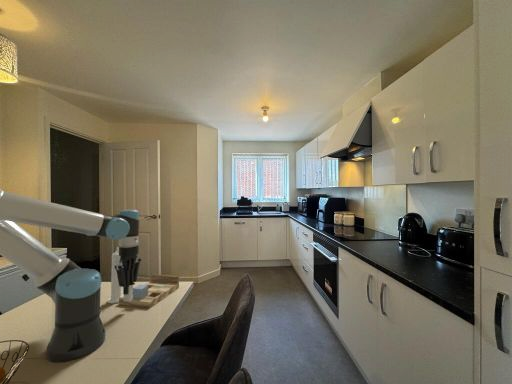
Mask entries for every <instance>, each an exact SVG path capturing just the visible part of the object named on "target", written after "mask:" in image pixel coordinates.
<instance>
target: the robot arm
mask: <svg viewBox="0 0 512 384" xmlns="http://www.w3.org/2000/svg"><path fill="white" fill-rule="evenodd" d="M139 213H140V212H139V211H138V210H137V209H122V210H121V209H120V210H119V214H116V215H105V214H102V213H98V212H94V211H89V210H84V209H80V208H77V207H74V206H73V207H72V206H68V205H65V204H60V203H55V202H50V201H46V200H42V199H38V198H34V197H29V196H26V195H25V196H24V195H21V194H16V193H12V192H7V191H4V190H3V189H2V188H1V187H0V256H1V257H3V258H4V259H5V260H7V261H8V262H9V263H11V264H12V265H14V266H16V268H18V269H20V271H23V272H24V273H25V274H27V275H28V276H30V277H31V278H32V279H33V280H34V284H33V286H34V287H35V288H37V289H38V290H39V291H40V292H42V293H43V294H44V295H47V296H48V297H49V298H51V299H52V302H53V303H54V304H55V305H54V307H55V308H54V310H55V311H54V327H53V328H54V329H53V331H52V335H51V337H50V339H49V342H48V343H47V346H46V349H45V351H46V352H45V357H46V359H47V360H48V361H50V362H54V363H55V362H56V363H57V362H60V363H61V362H68V361H72V360H76V359H79V358H82V357H84V356H87V355H89V354H90V353H93V352H94V351H96V350H97V349H98V348H100V347H101V346H102V345H103V344H104V342H105V341H106V329H105V328H104V324H103V321H102V319H101V316H100V315H101V312H100V311H101V290H102V289H101V286H102V277H101V273H100V272H99V271H98V270H96V269H94V268H91V269H90V268H87V267H86V268H81V267H80V266H78V265H77V264H76V263H75V262H74V261H73V260H71V259H70V258H67V257H64V258H61V257H59V256H57V254H55V253H54V252H53V251H51V249H50V248H48V247H46V246H45V245H44V244H43V243H42V242H41V241H40V240H38V239H36V238H35V237H34V236H33V235H31V234H30V233H29V232H28V231H27V230H25V229H24V228H23V227H22V226H20V225H19V224H24V225H30V226H36V227H42V228H48V229H55V230H59V231H65V232H72V233H78V234H84V235H86V236H88V237H91V236H92V237H93V236H94V237H101V238H107V239H110V240H117V241H118V247H119V256H120V261H119V262H120V263H119V264H118V265H116V266H115V269H116V271H117V277H118V282H119V286H120V287H122V295H123V296H124V301H125V302H130V301H132V291H133V288H134V286H133V285H136V282H137V279H138V274H139V268H140V265H141V264H140V263H141V261H142V259H141V258H138V254H139V249H140V248H139V247H140V246H139V239H140V238H139V235H140V234H139V232H140V214H139Z"/></svg>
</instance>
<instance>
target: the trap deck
mask: <svg viewBox="0 0 512 384" xmlns="http://www.w3.org/2000/svg"><path fill="white" fill-rule="evenodd" d="M144 285H147V286H148V296H146V297H144V298H143V299H134V298H133V290H132V301H130V302H125V301H124V295H122V296H123V297H121V298H119V303H118V305H120V306H121V305H123V306H129V307H138V308H146V309H151V308H152V307H153V306H155V305H157V304H158V303H159V302H161V301H162V300H163V299H165V298H166V297H168V296H169V295H171V294H172V293H173V292H174V291H176V290H177V289H179V288H180V276H179V275H169V274H168V275H166V274H154V273H153V274H151V280H150V281H149V282H148V283H147V282H146V283H145V284H144Z"/></svg>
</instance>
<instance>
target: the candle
mask: <svg viewBox="0 0 512 384" xmlns="http://www.w3.org/2000/svg"><path fill="white" fill-rule="evenodd" d="M119 247H120V246H117V247H116V250H115V252H113V253H112V254H111V278H110V279H111V280H110V283H111V284H110V285H111V286H110V297H109V298H108V299H107V303H108V304H119V298H121V297H123V296H124V295H123V287H120V286H119V282H118V277H117V271H116V269H115V266H116V265H118V264H119V263H120V262H119V261H120V256H119Z"/></svg>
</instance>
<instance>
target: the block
mask: <svg viewBox="0 0 512 384" xmlns="http://www.w3.org/2000/svg"><path fill="white" fill-rule="evenodd" d="M132 291H133V298H134V299H143V298H144V297H146V296H148V286H147V285H145V284H138V285H137V286H135V287H133V290H132Z"/></svg>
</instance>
